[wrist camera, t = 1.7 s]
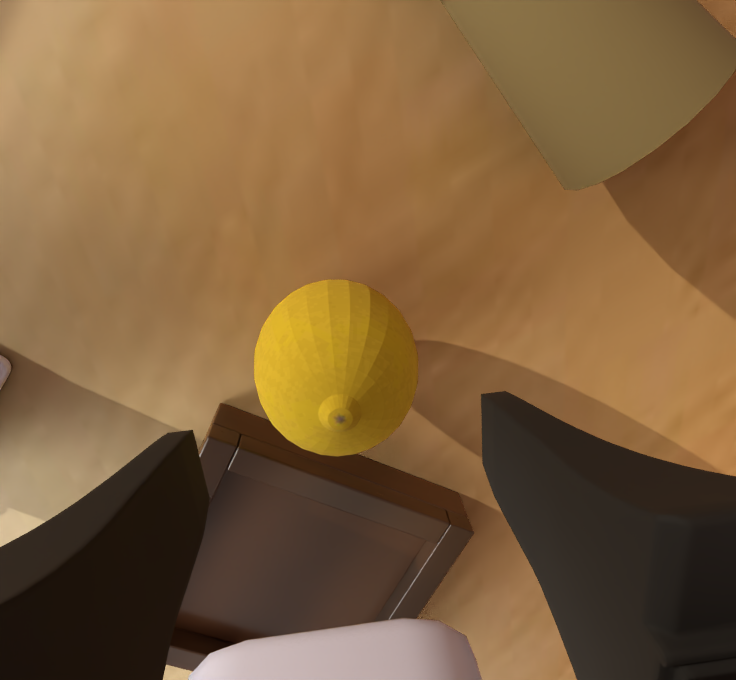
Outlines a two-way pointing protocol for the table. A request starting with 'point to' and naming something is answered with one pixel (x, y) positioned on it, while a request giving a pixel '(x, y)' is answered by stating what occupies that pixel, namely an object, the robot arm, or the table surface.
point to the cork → (598, 74)
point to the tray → (307, 541)
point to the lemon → (336, 367)
